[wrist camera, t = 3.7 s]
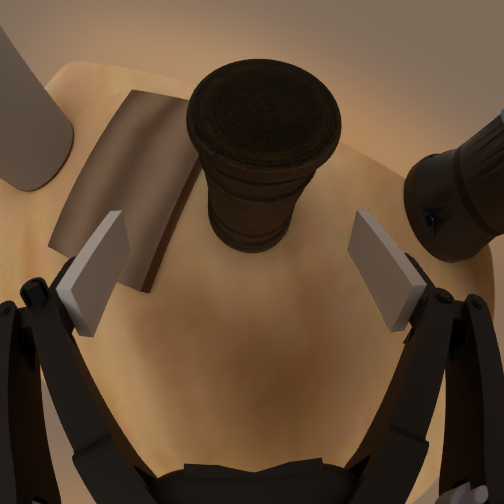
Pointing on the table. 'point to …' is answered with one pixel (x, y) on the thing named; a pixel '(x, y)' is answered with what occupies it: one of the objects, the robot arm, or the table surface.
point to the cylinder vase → (28, 124)
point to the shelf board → (134, 183)
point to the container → (260, 145)
